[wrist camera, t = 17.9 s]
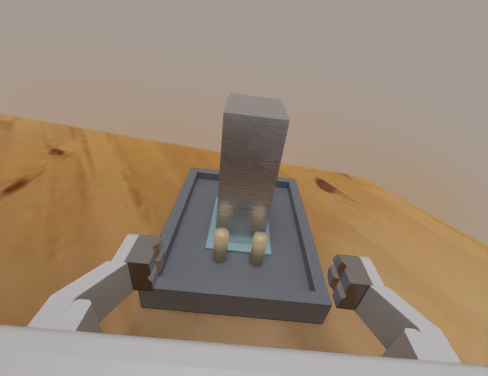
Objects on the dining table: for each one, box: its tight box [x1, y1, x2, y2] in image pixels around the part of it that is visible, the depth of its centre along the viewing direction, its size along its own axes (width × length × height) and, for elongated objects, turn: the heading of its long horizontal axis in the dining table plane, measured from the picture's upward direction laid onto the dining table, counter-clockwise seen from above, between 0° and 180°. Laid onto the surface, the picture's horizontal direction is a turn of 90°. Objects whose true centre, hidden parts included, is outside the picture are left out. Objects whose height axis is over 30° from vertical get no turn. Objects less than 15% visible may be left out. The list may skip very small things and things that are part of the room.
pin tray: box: [138, 168, 332, 324], centre depth 25 cm, size 14×18×4 cm
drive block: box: [216, 93, 290, 245], centre depth 22 cm, size 4×6×12 cm
